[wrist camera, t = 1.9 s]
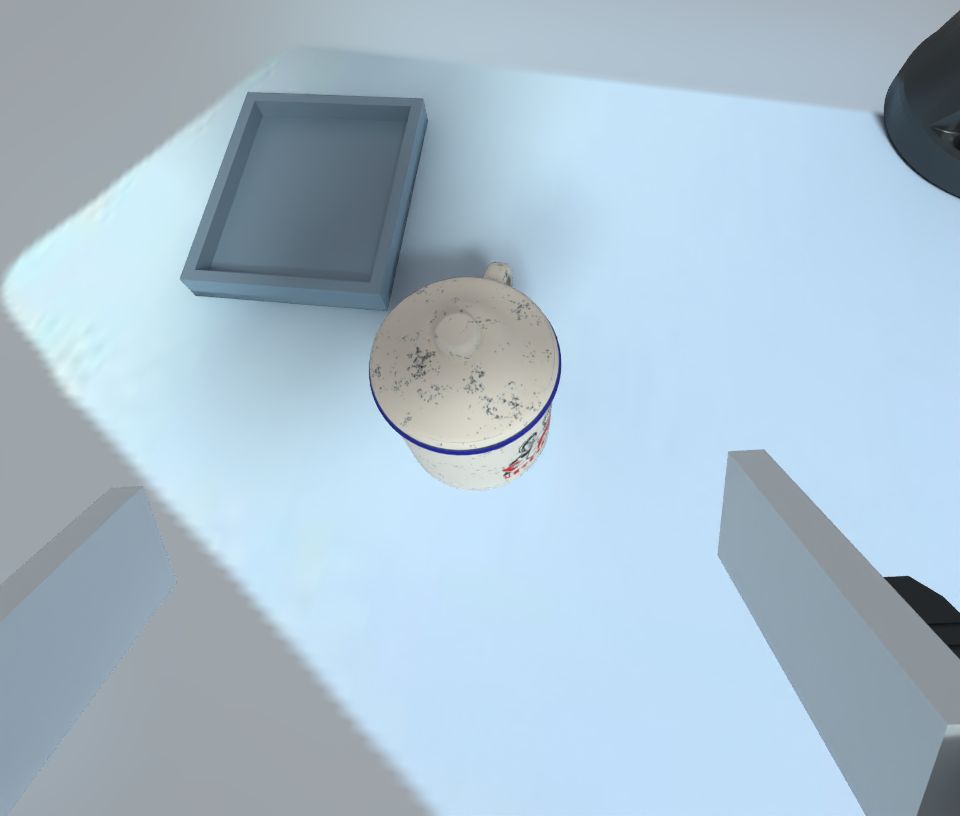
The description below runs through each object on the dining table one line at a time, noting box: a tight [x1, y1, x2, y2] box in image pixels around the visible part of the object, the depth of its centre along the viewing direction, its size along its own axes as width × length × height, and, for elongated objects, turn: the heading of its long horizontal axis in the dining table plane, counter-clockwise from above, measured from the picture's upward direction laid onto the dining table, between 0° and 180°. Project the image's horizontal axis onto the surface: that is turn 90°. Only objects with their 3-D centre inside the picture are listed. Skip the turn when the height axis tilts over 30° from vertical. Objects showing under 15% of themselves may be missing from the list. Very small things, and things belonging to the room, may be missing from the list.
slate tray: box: [180, 92, 428, 311], centre depth 41 cm, size 14×17×2 cm
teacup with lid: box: [369, 262, 561, 490], centre depth 30 cm, size 12×9×12 cm
